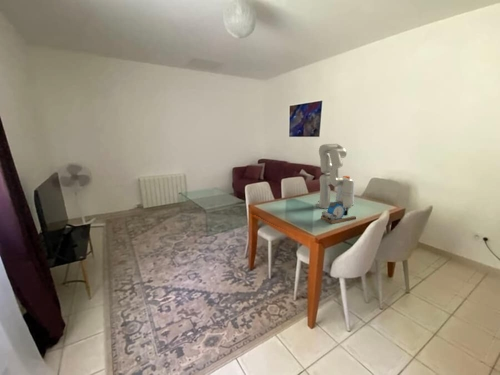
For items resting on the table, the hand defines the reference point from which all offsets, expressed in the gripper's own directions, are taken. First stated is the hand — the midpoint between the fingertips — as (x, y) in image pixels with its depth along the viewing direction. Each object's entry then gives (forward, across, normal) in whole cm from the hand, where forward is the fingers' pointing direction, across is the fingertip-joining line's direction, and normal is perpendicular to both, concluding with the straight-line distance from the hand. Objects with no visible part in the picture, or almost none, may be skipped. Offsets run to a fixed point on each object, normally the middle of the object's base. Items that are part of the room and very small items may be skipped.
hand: (345, 215), depth 186 cm
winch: (+3, +18, 0) cm, 18 cm away
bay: (+3, +5, -1) cm, 6 cm away
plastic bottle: (+2, -30, -30) cm, 42 cm away
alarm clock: (+3, +9, -1) cm, 10 cm away
